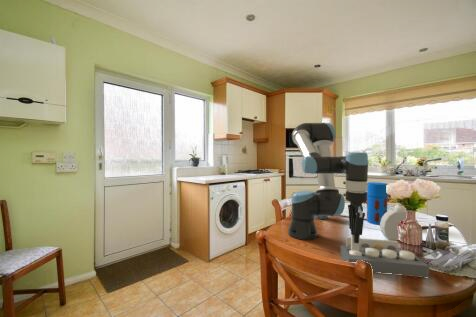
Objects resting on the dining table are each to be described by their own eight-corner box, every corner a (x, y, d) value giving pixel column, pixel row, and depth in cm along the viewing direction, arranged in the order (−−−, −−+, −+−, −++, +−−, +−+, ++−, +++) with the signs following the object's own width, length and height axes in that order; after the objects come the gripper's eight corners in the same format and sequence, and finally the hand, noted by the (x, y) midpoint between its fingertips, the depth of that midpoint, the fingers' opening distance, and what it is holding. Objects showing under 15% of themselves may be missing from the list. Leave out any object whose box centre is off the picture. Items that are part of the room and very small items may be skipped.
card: (346, 253, 95) (346, 238, 95) (345, 252, 96) (346, 237, 96) (398, 258, 91) (398, 241, 91) (396, 257, 92) (397, 240, 92)
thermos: (391, 224, 135) (391, 184, 135) (379, 226, 131) (379, 185, 131) (374, 219, 146) (375, 181, 145) (362, 220, 142) (363, 182, 141)
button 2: (367, 259, 84) (367, 252, 84) (363, 254, 88) (363, 247, 88) (381, 261, 83) (381, 253, 83) (376, 255, 87) (376, 248, 87)
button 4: (403, 263, 81) (403, 255, 81) (396, 257, 86) (396, 249, 86) (417, 264, 80) (417, 256, 80) (410, 258, 85) (410, 250, 85)
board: (348, 270, 82) (349, 258, 82) (340, 255, 94) (340, 245, 94) (428, 278, 77) (429, 266, 76) (409, 261, 88) (409, 251, 88)
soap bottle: (413, 238, 113) (413, 199, 113) (419, 242, 108) (420, 202, 108) (379, 235, 116) (379, 198, 116) (383, 239, 111) (384, 200, 110)
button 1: (350, 262, 85) (350, 254, 85) (347, 256, 90) (347, 249, 90) (363, 263, 84) (363, 255, 84) (359, 257, 89) (359, 250, 89)
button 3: (385, 261, 83) (385, 253, 83) (379, 255, 87) (380, 248, 87) (398, 262, 82) (399, 254, 82) (392, 257, 86) (392, 249, 86)
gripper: (373, 194, 79) (371, 258, 80) (360, 188, 92) (359, 243, 93) (350, 194, 81) (349, 256, 82) (341, 188, 93) (340, 242, 94)
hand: (355, 249), depth 87 cm, fingers closed
